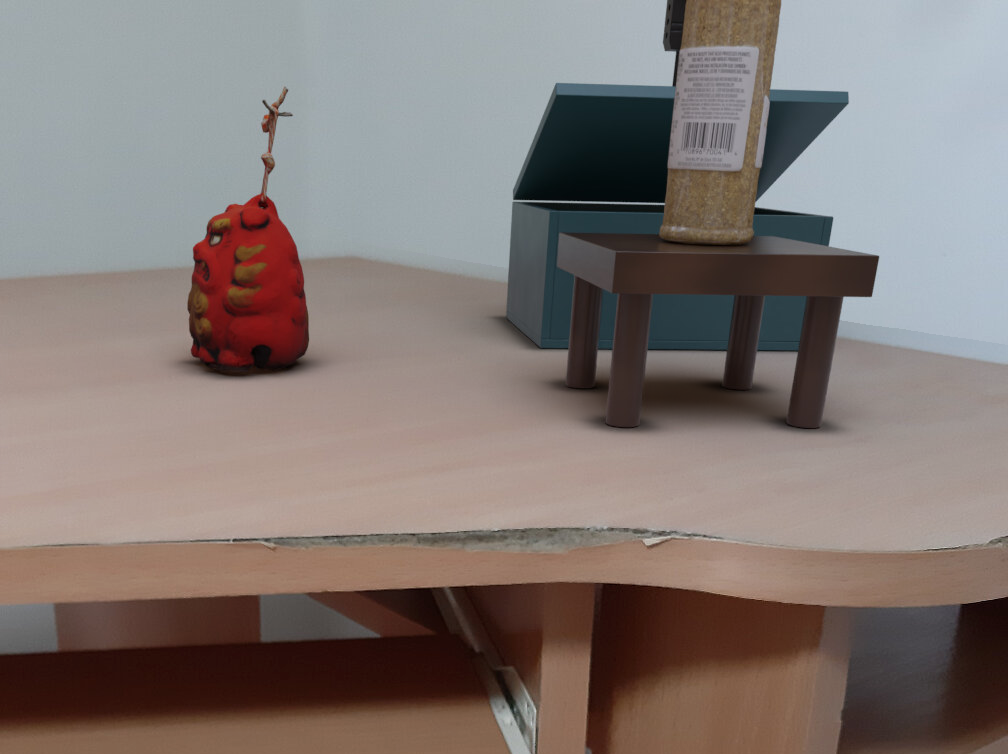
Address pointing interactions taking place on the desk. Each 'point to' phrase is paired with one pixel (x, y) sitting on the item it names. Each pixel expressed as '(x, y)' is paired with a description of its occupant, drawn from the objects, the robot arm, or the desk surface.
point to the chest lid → (646, 141)
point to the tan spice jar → (719, 120)
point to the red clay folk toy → (249, 283)
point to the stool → (707, 271)
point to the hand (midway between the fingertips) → (686, 107)
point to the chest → (674, 318)
